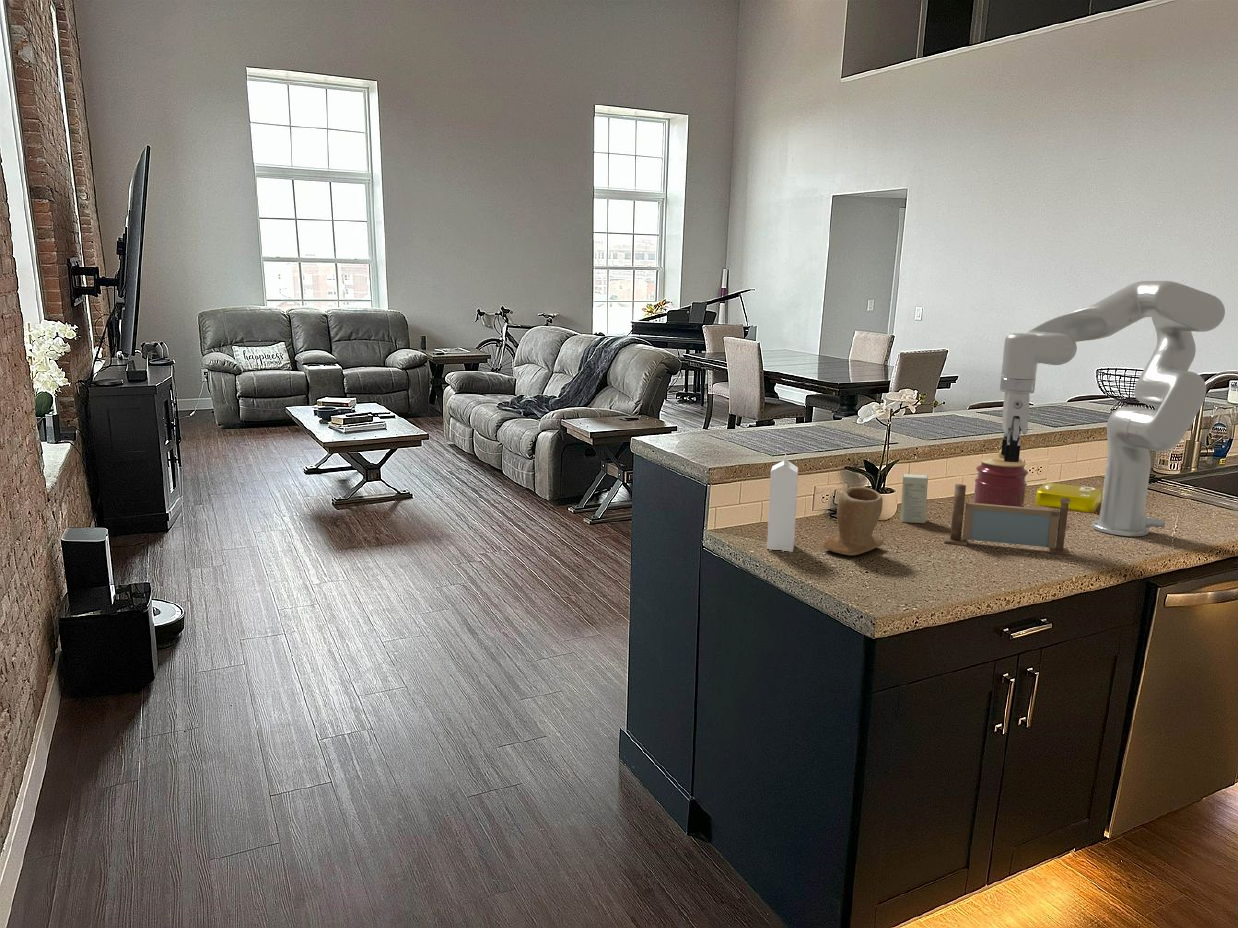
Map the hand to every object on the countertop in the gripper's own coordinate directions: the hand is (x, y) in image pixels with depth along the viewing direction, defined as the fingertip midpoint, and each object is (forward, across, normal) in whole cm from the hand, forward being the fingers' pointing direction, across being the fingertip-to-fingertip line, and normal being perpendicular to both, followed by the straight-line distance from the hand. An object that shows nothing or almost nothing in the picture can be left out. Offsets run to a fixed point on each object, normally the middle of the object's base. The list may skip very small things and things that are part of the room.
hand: (1009, 458), depth 206 cm
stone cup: (+20, -25, +33) cm, 46 cm away
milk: (+20, -29, +50) cm, 61 cm away
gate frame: (+20, -9, 0) cm, 22 cm away
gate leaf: (+19, -9, -1) cm, 21 cm away
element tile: (+20, +43, -21) cm, 52 cm away
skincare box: (+20, +7, +21) cm, 30 cm away
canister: (+20, +25, -1) cm, 32 cm away
